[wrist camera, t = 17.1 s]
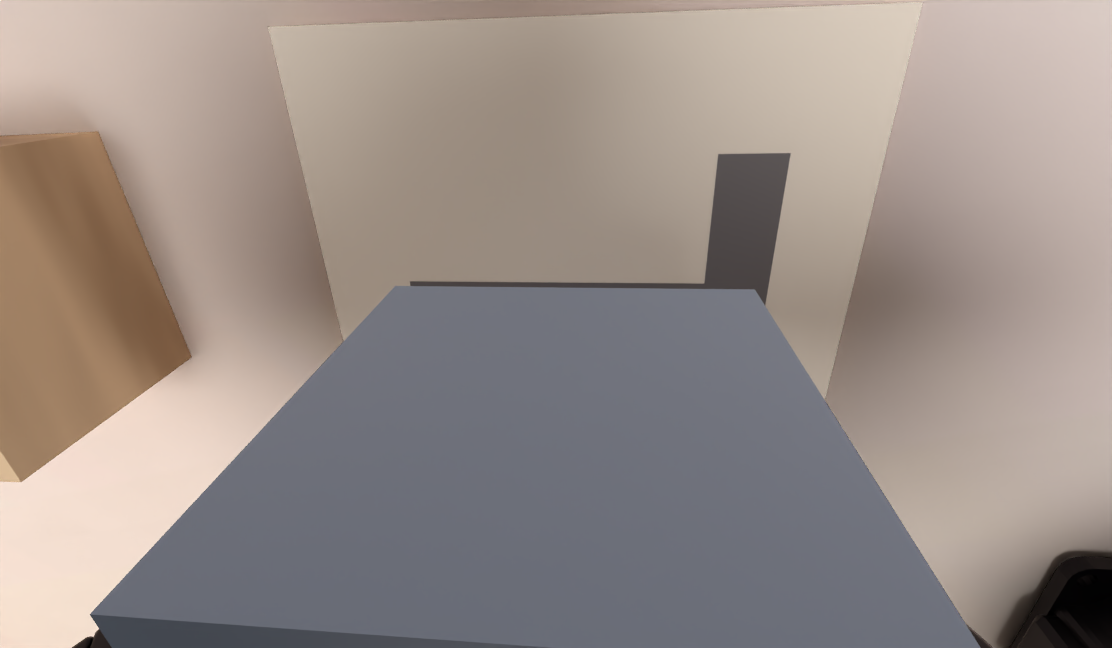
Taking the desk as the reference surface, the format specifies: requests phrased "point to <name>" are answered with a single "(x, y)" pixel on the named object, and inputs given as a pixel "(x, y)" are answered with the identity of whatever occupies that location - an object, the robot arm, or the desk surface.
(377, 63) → the board
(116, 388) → the light oak block
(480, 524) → the slate blue cube
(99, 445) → the desk surface
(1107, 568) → the robot arm
